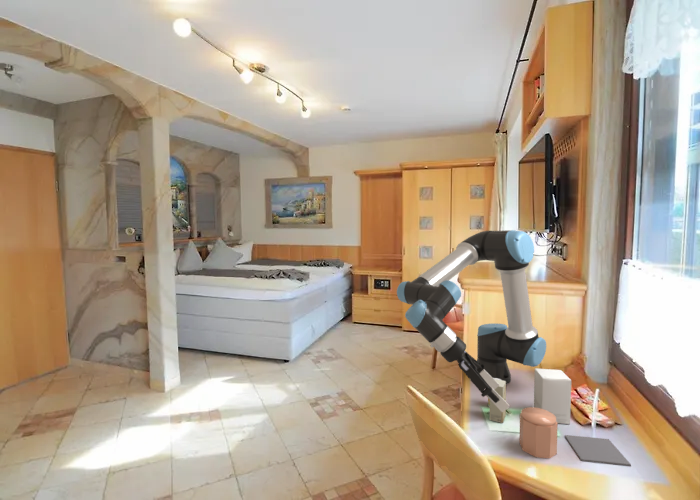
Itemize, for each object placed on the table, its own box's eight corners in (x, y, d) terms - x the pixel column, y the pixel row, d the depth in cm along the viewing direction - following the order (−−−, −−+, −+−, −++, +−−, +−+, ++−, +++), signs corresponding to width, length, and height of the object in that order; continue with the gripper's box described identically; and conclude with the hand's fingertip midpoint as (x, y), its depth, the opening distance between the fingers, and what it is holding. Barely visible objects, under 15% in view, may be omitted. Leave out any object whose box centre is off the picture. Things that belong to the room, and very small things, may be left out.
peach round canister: (517, 437, 111) (517, 406, 110) (549, 441, 109) (550, 408, 109) (525, 455, 102) (525, 421, 102) (560, 459, 100) (561, 424, 100)
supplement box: (571, 425, 118) (572, 380, 117) (541, 422, 120) (542, 378, 119) (560, 411, 127) (562, 369, 126) (533, 409, 129) (534, 367, 128)
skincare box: (502, 423, 119) (503, 387, 118) (488, 420, 122) (489, 384, 121) (506, 415, 124) (506, 380, 124) (492, 412, 127) (492, 378, 126)
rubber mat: (564, 436, 112) (564, 434, 112) (608, 440, 109) (608, 439, 109) (581, 460, 100) (581, 459, 100) (630, 466, 98) (631, 464, 97)
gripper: (437, 340, 122) (484, 387, 120) (441, 367, 97) (499, 428, 95) (454, 325, 121) (501, 372, 118) (461, 349, 96) (521, 410, 94)
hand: (500, 397), depth 107 cm, fingers open, 13 cm apart
